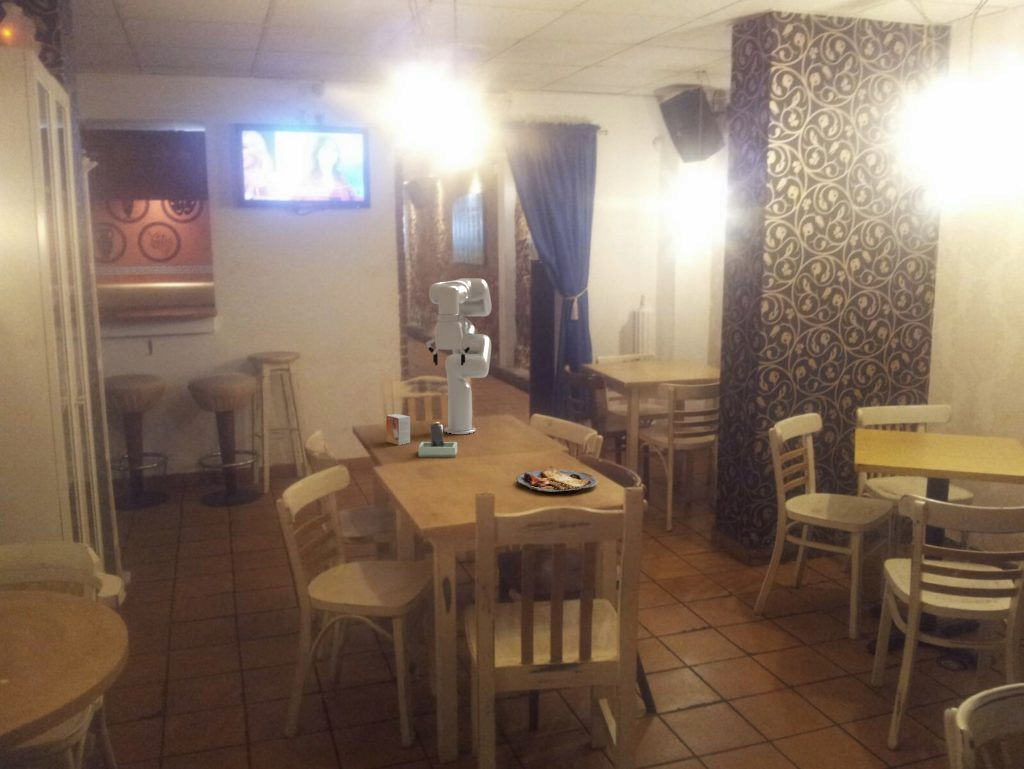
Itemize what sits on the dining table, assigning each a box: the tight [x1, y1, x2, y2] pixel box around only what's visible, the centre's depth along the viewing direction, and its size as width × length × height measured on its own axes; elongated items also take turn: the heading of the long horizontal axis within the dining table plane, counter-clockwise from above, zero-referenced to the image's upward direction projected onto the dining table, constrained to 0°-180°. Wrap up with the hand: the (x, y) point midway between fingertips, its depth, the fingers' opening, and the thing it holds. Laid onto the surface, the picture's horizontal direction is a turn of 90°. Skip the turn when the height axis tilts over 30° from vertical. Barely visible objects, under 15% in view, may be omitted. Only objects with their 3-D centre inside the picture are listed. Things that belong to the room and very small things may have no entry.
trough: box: [418, 441, 458, 458], centre depth 317 cm, size 9×13×4 cm
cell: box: [429, 421, 445, 447], centre depth 316 cm, size 4×4×11 cm
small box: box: [385, 413, 411, 446], centre depth 335 cm, size 8×6×10 cm
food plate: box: [515, 465, 598, 493], centre depth 276 cm, size 25×23×4 cm
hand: (449, 364), depth 328 cm, fingers open, 9 cm apart
